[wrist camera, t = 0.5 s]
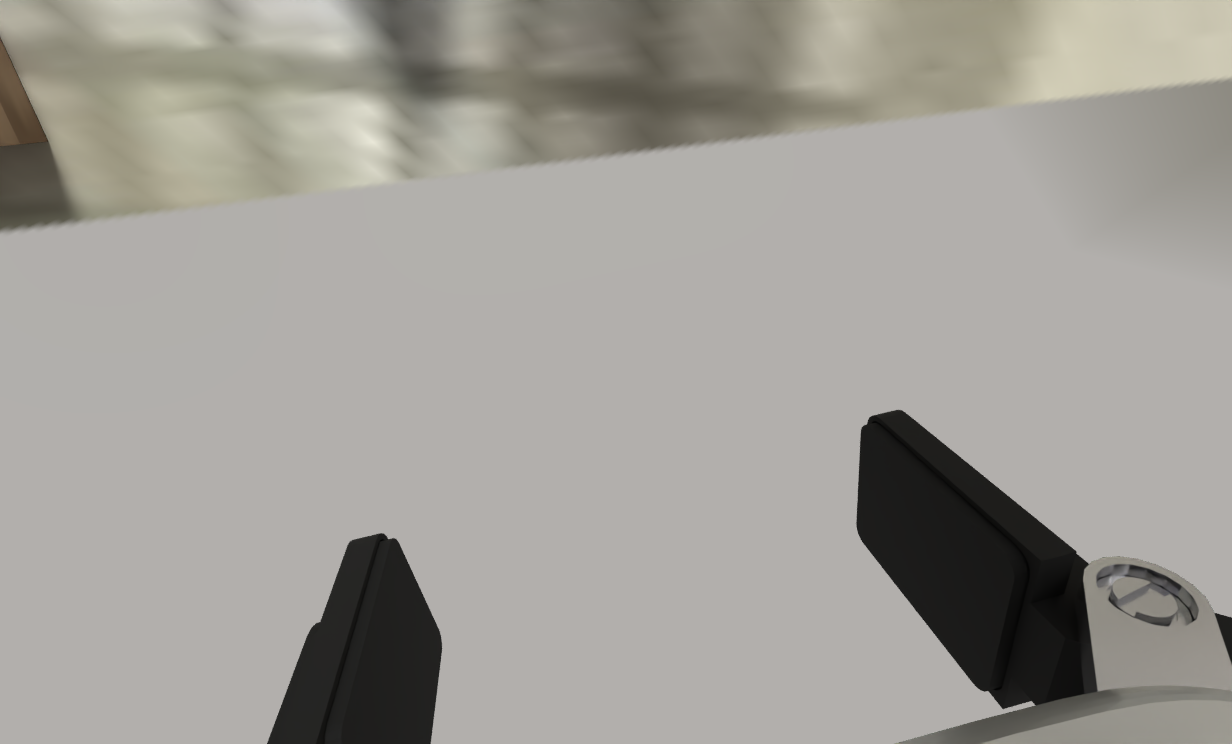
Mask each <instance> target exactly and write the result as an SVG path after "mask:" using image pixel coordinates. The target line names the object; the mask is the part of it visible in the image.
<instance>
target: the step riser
mask: <svg viewBox="0 0 1232 744" xmlns="http://www.w3.org/2000/svg"><path fill="white" fill-rule="evenodd" d="M38 142H48V141H47V138H46V136H45V134H44V132H43V130H42V128H41V126H40V123H39V121H38V119H37V117H36V115H35V113H34V110H33V108H32V106H31V104H30V102H29V100H28V97H27V95H26V93H25V91H24V89H23V87H22V84H21V82H20V80H19V78H18V76H17V74H16V71H15V69H14V67H13V65H12V63H11V61H10V58H9V56H8V54H7V52H6V50H5V48H4V45H3V43H2V41H1V39H0V146H9V145H18V144H28V143H38Z"/></svg>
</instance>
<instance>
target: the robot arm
mask: <svg viewBox="0 0 1232 744" xmlns="http://www.w3.org/2000/svg"><path fill="white" fill-rule="evenodd" d="M858 485H859V486H858V503H857V530H858V534H859V536H860V538H861V540H862V542H863V543H864V545H865V546H866V547H867V548H868V550H869V551H870V552H871V554H872V555H873V556H874V557H875V559H876V560H877V561H878V562H879V564H880V565H881V566H882V568H883V569H884V570H885V571H886V573H887V574H888V575H889V576H890V578H891V579H892V580H893V582H894V583H895V584H896V585H897V587H898V588H899V589H900V591H901V592H902V593H903V594H904V596H905V597H906V598H907V599H908V601H909V602H910V603H911V605H912V606H913V607H914V608H915V610H916V611H917V612H918V613H919V615H920V616H921V617H922V619H923V620H924V621H925V622H926V624H927V625H928V626H929V627H930V629H931V630H932V631H933V633H934V634H935V635H936V636H937V638H938V639H939V640H940V642H941V643H942V644H943V645H944V647H945V648H946V649H947V651H948V652H949V653H950V654H951V656H952V657H953V658H954V659H955V661H956V662H957V663H958V665H959V666H960V667H961V668H962V670H963V671H964V672H965V673H966V675H967V676H968V677H969V678H970V680H971V681H972V682H973V684H975V686H976V687H977V688H979V689H980V690H982V691H989V692H990V693H991V695H992V696H993V697H994V699H995V700H996V701H997V702H998V704H999V705H1000V706H1001V707H1002V709H1005V708H1008V707H1012V706H1015V705H1018V704H1022V703H1026V702H1029V701H1032V702H1033V703H1034V704H1035V705H1036V706H1032V707H1029V708H1025V709H1021V710H1017V711H1013V712H1009V713H1006V714H1002V715H997V716H994V717H990V718H986V719H982V720H978V721H975V722H971V723H967V724H964V725H960V726H957V727H953V728H949V729H946V730H942V731H939V732H935V733H931V734H928V735H924V736H921V737H917V738H914V739H910V740H906V741H903V742H899V743H896V744H1232V618H1231V617H1227V616H1224V615H1220V614H1217V613H1214V611H1213V609H1212V607H1211V605H1210V604H1209V602H1208V600H1207V598H1206V597H1205V596H1204V595H1203V594H1202V593H1201V592H1200V591H1199V590H1198V589H1197V588H1196V587H1195V586H1194V585H1193V584H1191V583H1190V582H1188V581H1186V580H1185V579H1184V578H1182V577H1180V576H1179V575H1178V574H1176V573H1174V572H1172V571H1169V570H1167V569H1165V568H1163V567H1161V566H1159V565H1156V564H1153V563H1149V562H1146V561H1143V560H1139V559H1134V558H1127V557H1120V556H1118V557H1103V558H1100V559H1098V560H1095V561H1092V562H1091V563H1090V564H1088V563H1087V562H1086V561H1085V560H1083V559H1082V558H1081V557H1080V556H1079V555H1077V554H1076V551H1075V550H1074V549H1073V548H1071V547H1070V546H1069V545H1068V544H1066V543H1065V542H1064V541H1063V540H1061V539H1060V538H1059V537H1058V536H1057V535H1055V534H1054V533H1053V532H1052V531H1051V530H1049V529H1048V528H1047V527H1046V526H1044V525H1043V524H1042V523H1041V522H1039V521H1038V520H1037V519H1036V518H1034V517H1033V516H1032V515H1031V514H1030V513H1028V512H1027V511H1026V510H1025V509H1023V508H1022V507H1021V506H1020V505H1018V504H1017V503H1016V502H1015V501H1014V500H1012V499H1011V498H1010V497H1009V496H1007V495H1006V494H1005V493H1004V492H1002V491H1001V490H1000V489H999V488H998V487H996V486H995V485H994V484H993V483H991V482H990V481H989V480H988V479H986V478H985V477H984V476H983V475H981V474H980V473H979V472H978V471H977V470H975V469H974V468H973V467H972V466H970V465H969V464H968V463H967V462H965V461H964V460H963V459H961V457H959V456H958V455H957V454H956V453H954V452H953V451H952V450H950V449H949V448H948V447H947V446H946V445H944V444H943V443H942V442H941V441H940V440H938V439H937V438H936V437H935V436H933V435H932V434H931V433H930V432H928V431H927V430H926V429H925V428H924V427H922V426H921V425H920V424H918V423H917V422H916V421H915V420H914V419H912V418H911V417H910V416H909V415H907V414H906V413H905V412H903V411H902V410H895V411H891V412H887V413H882V414H878V415H874V416H871V417H870V418H869V420H868V423H867V425H864V426H863V427H862V429H861V441H860V463H859V482H858ZM441 653H442V642H441V635H440V631H439V629H438V627H437V624H436V622H435V620H434V618H433V616H432V614H431V611H430V609H429V607H428V605H427V603H426V601H425V598H424V597H423V594H422V592H421V590H420V588H419V586H418V583H417V581H416V579H415V577H414V575H413V572H412V570H411V568H410V566H409V564H408V562H407V559H406V557H405V555H404V553H403V551H402V549H401V547H400V544H399V542H398V541H397V540H396V539H394V538H392V539H388V538H387V536H386V535H385V534H382V533H381V534H376V535H372V536H368V537H363V538H359V539H355V540H352V541H351V542H350V543H349V544H348V546H347V549H346V552H345V555H344V557H343V560H342V563H341V566H340V568H339V571H338V574H337V577H336V580H335V583H334V585H333V588H332V591H331V594H330V596H329V600H328V602H327V605H326V608H325V611H324V613H323V616H322V619H321V622H319V623H316V624H315V625H314V626H313V627H312V628H311V630H310V632H309V634H308V636H307V638H306V641H305V643H304V646H303V649H302V651H301V654H300V657H299V659H298V662H297V665H296V667H295V670H294V673H293V676H292V678H291V681H290V684H289V686H288V689H287V692H286V695H285V697H284V700H283V703H282V705H281V708H280V711H279V713H278V716H277V719H276V721H275V724H274V727H273V729H272V732H271V735H270V737H269V741H268V743H267V744H431V736H432V727H433V719H434V711H435V702H436V695H437V686H438V677H439V670H440V662H441Z"/></svg>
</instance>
